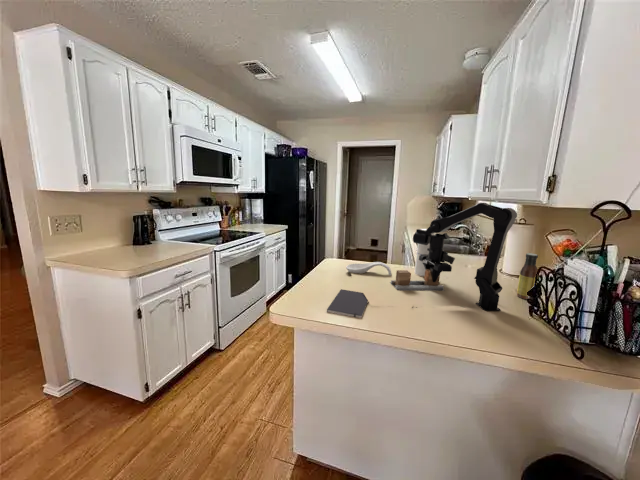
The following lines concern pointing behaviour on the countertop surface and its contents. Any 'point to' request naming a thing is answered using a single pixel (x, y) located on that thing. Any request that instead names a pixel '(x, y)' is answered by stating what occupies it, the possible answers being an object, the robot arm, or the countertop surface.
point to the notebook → (348, 303)
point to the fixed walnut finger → (402, 277)
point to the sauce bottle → (527, 275)
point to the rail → (418, 286)
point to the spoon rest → (365, 267)
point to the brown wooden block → (430, 278)
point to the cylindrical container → (419, 264)
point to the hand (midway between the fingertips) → (432, 280)
